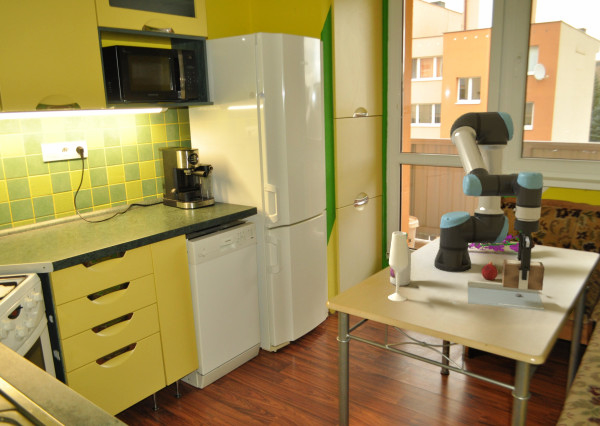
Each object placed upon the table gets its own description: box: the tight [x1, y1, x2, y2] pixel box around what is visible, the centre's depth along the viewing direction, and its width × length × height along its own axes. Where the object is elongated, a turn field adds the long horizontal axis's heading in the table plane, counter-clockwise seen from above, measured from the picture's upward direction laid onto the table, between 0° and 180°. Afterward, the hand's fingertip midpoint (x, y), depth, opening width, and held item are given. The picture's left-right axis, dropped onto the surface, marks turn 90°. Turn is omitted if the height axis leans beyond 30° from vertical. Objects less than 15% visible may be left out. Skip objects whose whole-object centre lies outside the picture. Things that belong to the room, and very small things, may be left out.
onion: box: [481, 261, 499, 281], centre depth 193 cm, size 6×6×8 cm
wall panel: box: [467, 279, 546, 312], centre depth 174 cm, size 24×18×3 cm
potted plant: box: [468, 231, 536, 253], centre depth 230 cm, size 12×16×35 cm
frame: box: [501, 259, 545, 291], centre depth 168 cm, size 12×6×8 cm, turn 72°
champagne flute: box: [387, 231, 408, 302], centre depth 176 cm, size 7×7×24 cm
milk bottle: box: [389, 232, 412, 287], centre depth 191 cm, size 8×8×20 cm
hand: (521, 285), depth 169 cm, fingers closed on frame, 6 cm apart
